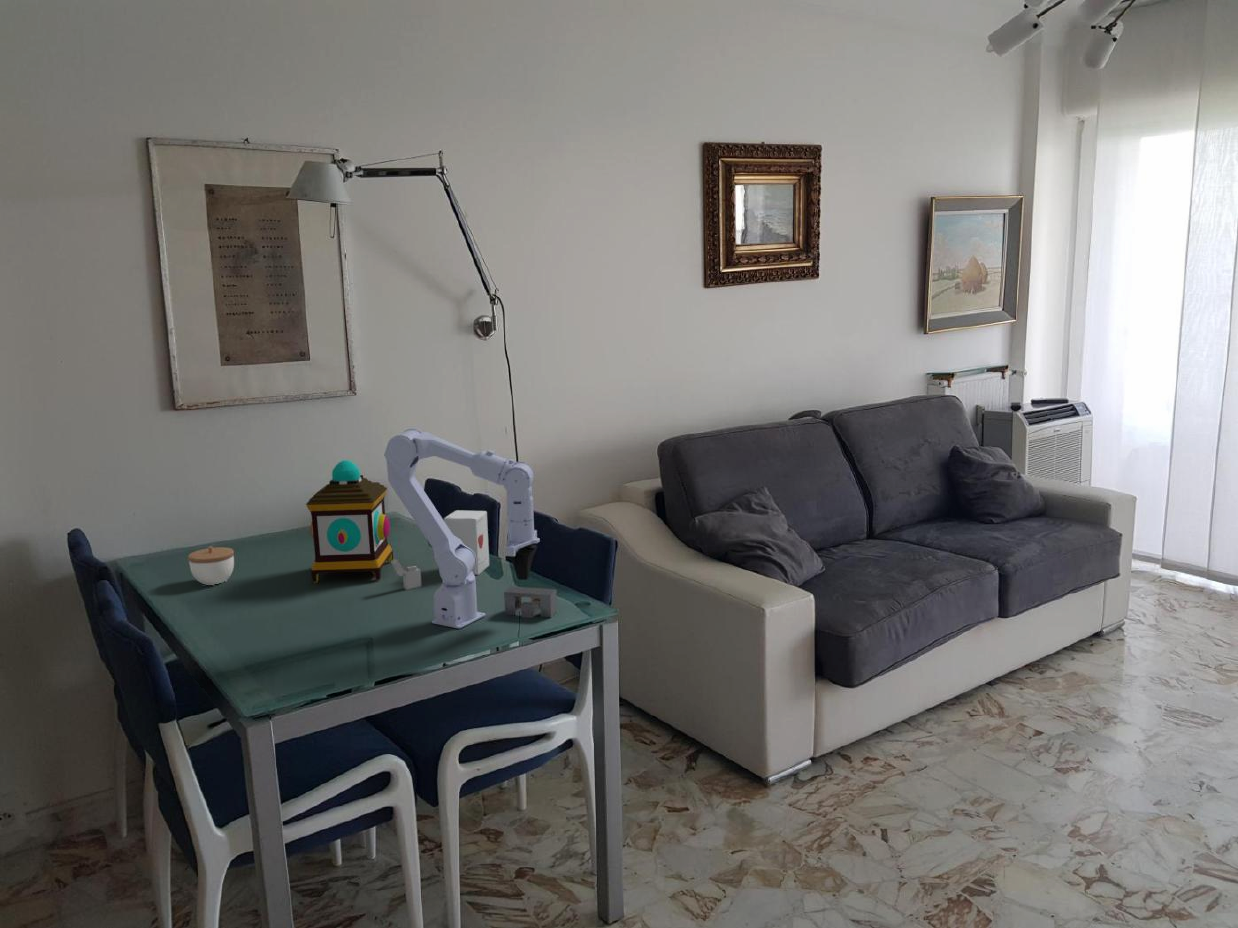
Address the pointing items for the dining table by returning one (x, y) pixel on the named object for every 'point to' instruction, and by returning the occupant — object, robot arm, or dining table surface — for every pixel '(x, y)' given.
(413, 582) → the lighter
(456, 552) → the robot arm
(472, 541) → the supplement box
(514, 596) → the housing
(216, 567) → the lidded jar
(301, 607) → the dining table surface
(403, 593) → the dining table surface
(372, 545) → the decorative lantern
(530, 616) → the plug
